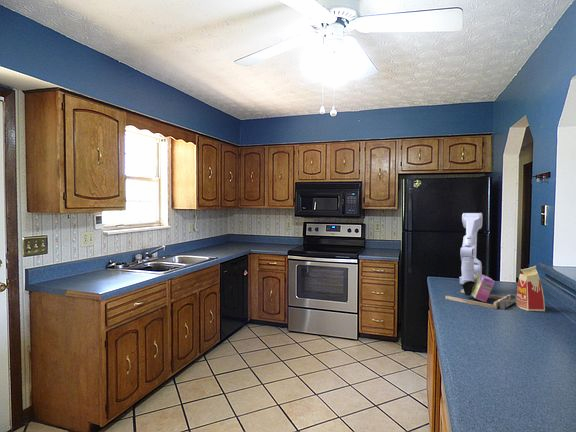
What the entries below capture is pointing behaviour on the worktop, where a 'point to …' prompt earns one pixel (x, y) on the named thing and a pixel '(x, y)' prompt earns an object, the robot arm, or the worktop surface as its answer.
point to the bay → (501, 303)
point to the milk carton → (530, 291)
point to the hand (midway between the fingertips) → (467, 295)
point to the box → (482, 287)
